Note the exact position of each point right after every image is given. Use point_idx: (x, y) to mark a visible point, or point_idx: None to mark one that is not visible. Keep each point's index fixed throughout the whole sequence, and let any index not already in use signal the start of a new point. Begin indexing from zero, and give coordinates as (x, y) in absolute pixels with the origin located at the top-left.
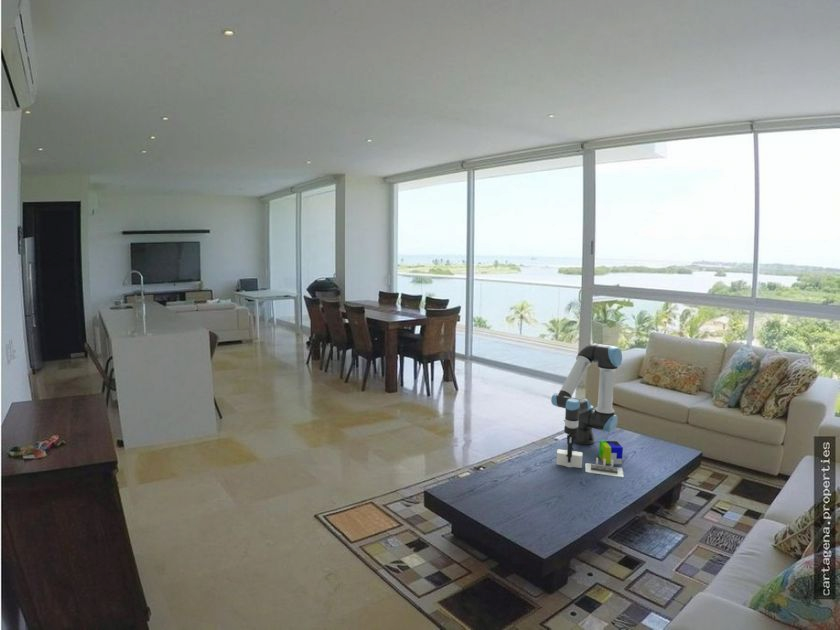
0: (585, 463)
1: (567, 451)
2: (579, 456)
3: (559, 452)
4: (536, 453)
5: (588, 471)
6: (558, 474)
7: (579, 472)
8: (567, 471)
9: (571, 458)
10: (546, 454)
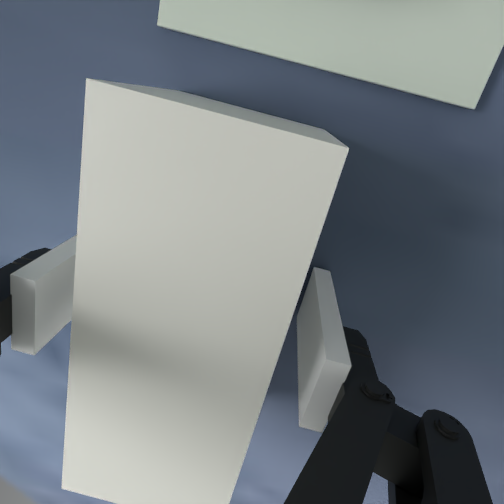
0: (176, 28)
1: (121, 383)
2: (325, 212)
3: (192, 498)
4: (23, 480)
5: (478, 55)
6: (488, 430)
7: (464, 197)
8: (421, 330)
9: (345, 349)
10: (15, 415)
